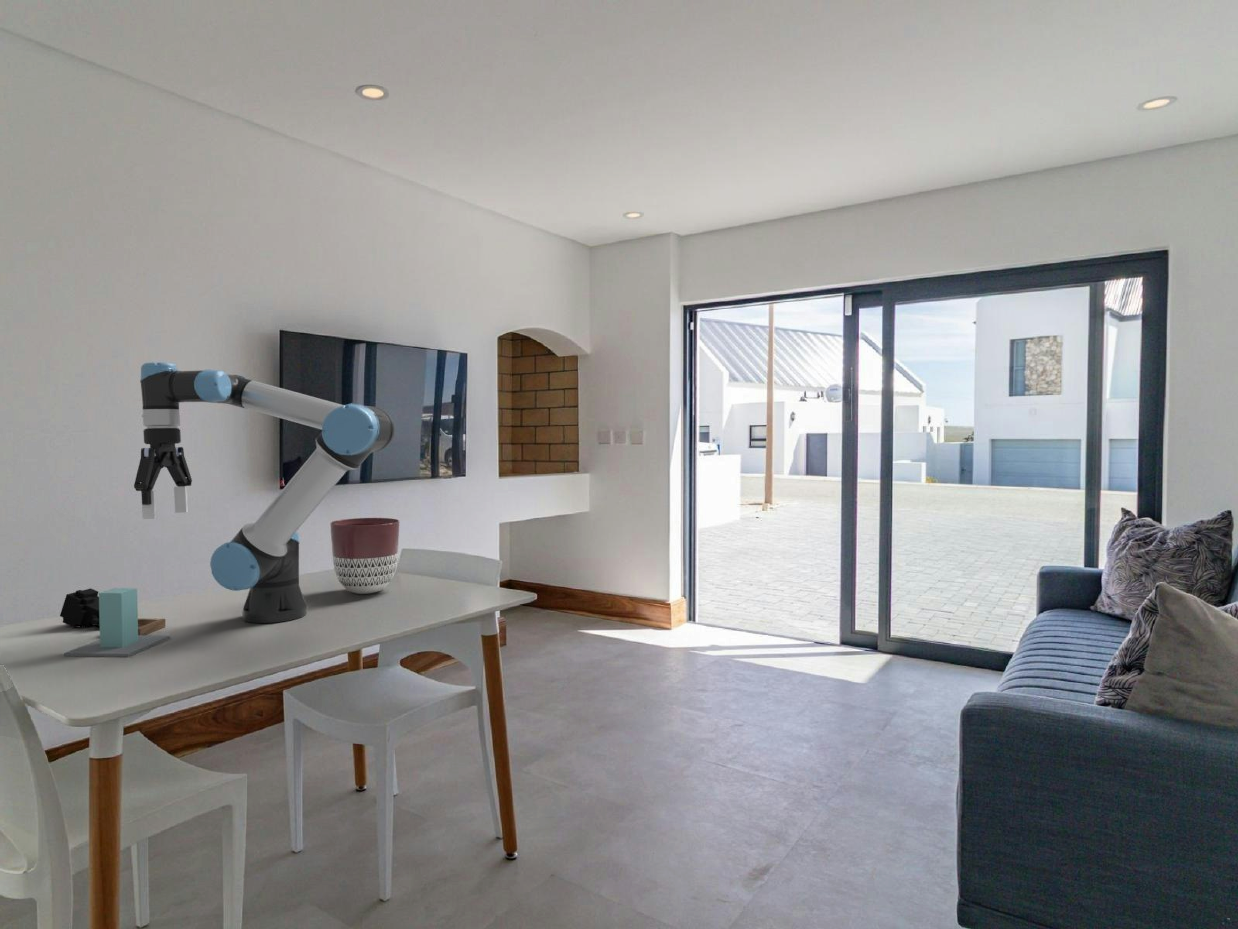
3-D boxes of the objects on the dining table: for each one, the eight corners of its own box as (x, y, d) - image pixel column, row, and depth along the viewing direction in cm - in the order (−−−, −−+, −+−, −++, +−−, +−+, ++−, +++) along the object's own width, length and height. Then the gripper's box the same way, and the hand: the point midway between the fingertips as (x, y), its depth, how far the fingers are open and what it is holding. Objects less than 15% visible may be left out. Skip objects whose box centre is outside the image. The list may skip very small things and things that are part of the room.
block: (138, 640, 163) (137, 588, 163) (122, 647, 158) (121, 593, 158) (116, 640, 163) (115, 588, 163) (100, 647, 158) (98, 593, 158)
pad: (170, 638, 168) (170, 635, 168) (128, 656, 154) (128, 654, 154) (111, 637, 168) (111, 634, 168) (63, 655, 154) (63, 653, 154)
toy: (116, 614, 172) (63, 591, 174) (107, 645, 173) (54, 621, 174) (146, 605, 181) (96, 583, 183) (137, 635, 182) (86, 612, 184)
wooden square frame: (165, 626, 177) (165, 618, 177) (140, 637, 168) (140, 628, 168) (129, 626, 178) (129, 618, 178) (102, 636, 169) (102, 628, 169)
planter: (317, 598, 209) (316, 524, 208) (353, 584, 228) (352, 517, 227) (380, 601, 206) (379, 526, 205) (410, 587, 225) (410, 518, 224)
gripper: (174, 428, 186) (178, 510, 187) (112, 427, 161) (117, 522, 162) (204, 427, 186) (208, 509, 187) (147, 426, 161) (152, 521, 162)
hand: (166, 515), depth 174 cm, fingers open, 13 cm apart
